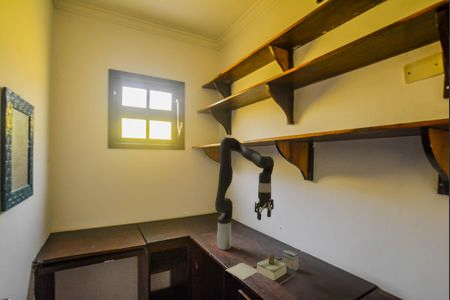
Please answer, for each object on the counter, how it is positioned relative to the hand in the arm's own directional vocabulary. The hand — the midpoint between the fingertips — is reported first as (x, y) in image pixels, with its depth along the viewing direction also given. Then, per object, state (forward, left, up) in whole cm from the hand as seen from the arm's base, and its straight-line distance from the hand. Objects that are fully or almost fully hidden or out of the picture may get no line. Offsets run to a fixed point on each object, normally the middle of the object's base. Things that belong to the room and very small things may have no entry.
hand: (264, 218), depth 134 cm
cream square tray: (+9, -5, -27) cm, 29 cm away
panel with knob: (-3, -15, -27) cm, 31 cm away
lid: (+9, -5, -22) cm, 24 cm away
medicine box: (+12, +8, -27) cm, 30 cm away
